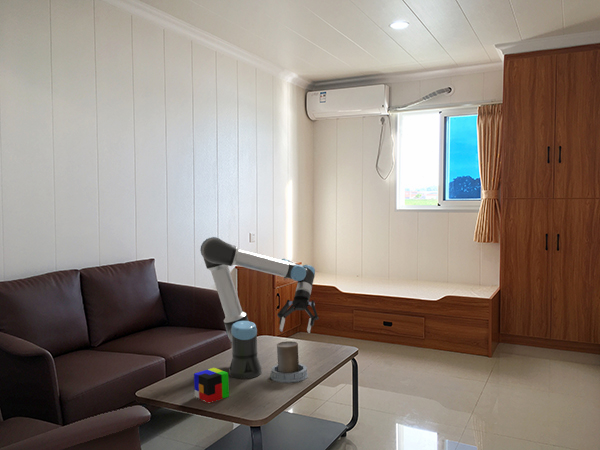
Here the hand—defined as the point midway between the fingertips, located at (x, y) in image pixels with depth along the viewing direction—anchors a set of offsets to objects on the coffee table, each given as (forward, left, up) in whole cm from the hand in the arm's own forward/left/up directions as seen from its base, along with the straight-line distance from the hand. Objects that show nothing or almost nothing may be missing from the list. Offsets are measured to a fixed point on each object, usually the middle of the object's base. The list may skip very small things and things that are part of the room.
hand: (294, 331), depth 239 cm
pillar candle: (+1, -8, -18) cm, 20 cm away
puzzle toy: (-17, -42, -19) cm, 49 cm away
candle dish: (+1, -8, -19) cm, 21 cm away
